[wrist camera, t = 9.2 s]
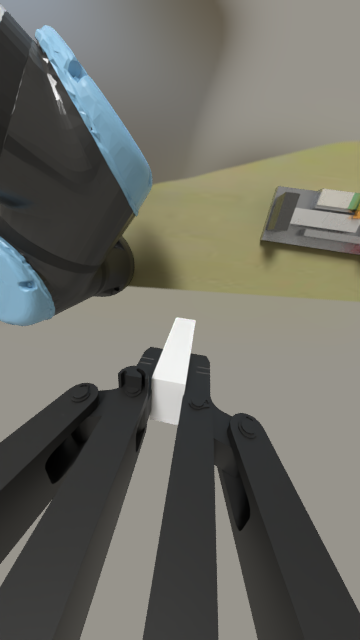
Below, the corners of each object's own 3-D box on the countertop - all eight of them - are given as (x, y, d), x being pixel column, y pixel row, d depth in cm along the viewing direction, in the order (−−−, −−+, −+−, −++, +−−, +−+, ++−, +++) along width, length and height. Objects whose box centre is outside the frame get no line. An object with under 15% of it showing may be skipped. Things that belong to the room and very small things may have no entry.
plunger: (266, 230, 31) (274, 228, 27) (281, 182, 28) (292, 173, 24) (343, 241, 30) (361, 241, 26) (367, 193, 27) (392, 185, 23)
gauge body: (260, 239, 33) (267, 239, 29) (276, 188, 30) (286, 180, 26) (372, 256, 32) (396, 259, 28) (403, 204, 28) (435, 198, 24)
